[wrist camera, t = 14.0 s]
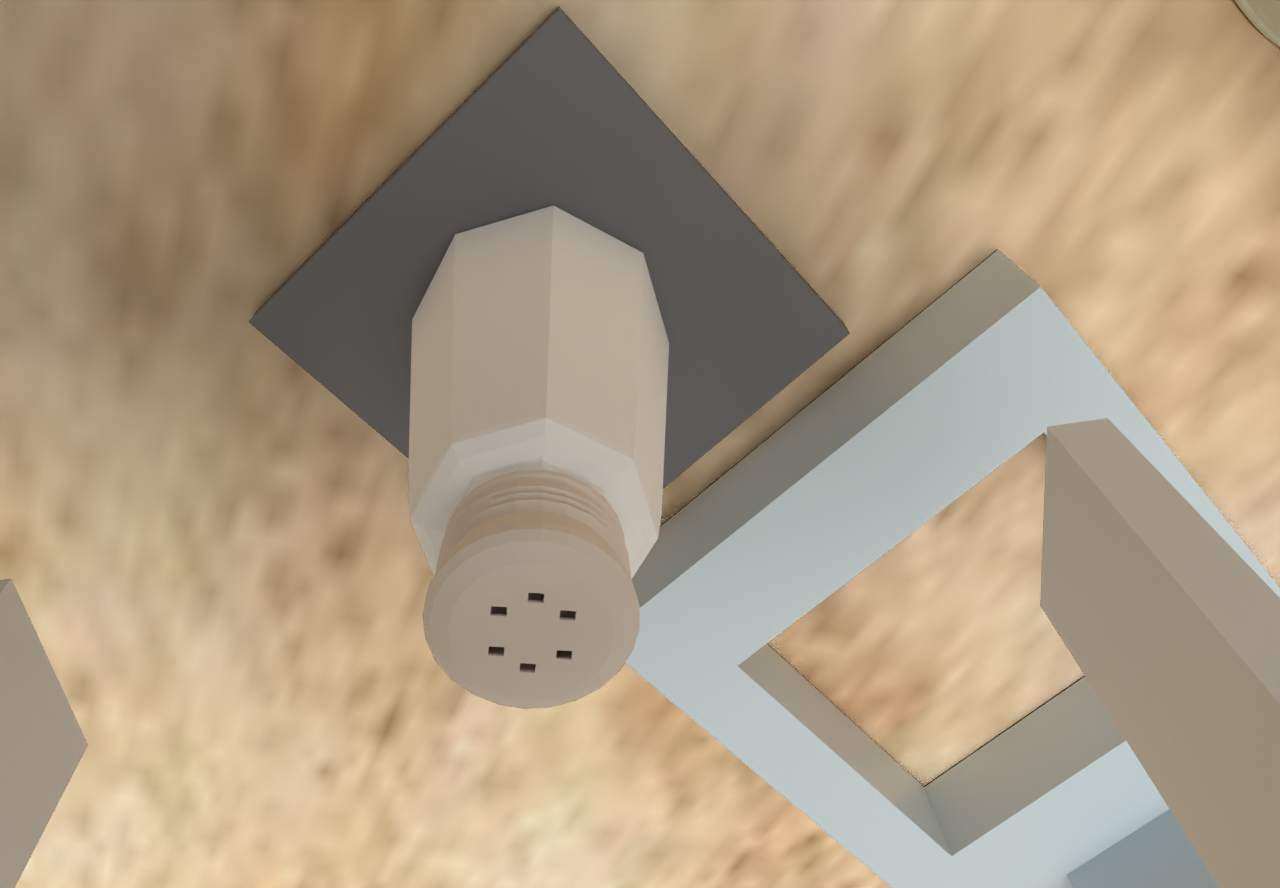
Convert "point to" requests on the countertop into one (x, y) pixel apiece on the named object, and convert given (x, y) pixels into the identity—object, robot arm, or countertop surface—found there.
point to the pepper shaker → (536, 455)
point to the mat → (587, 189)
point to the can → (1263, 16)
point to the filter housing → (856, 537)
